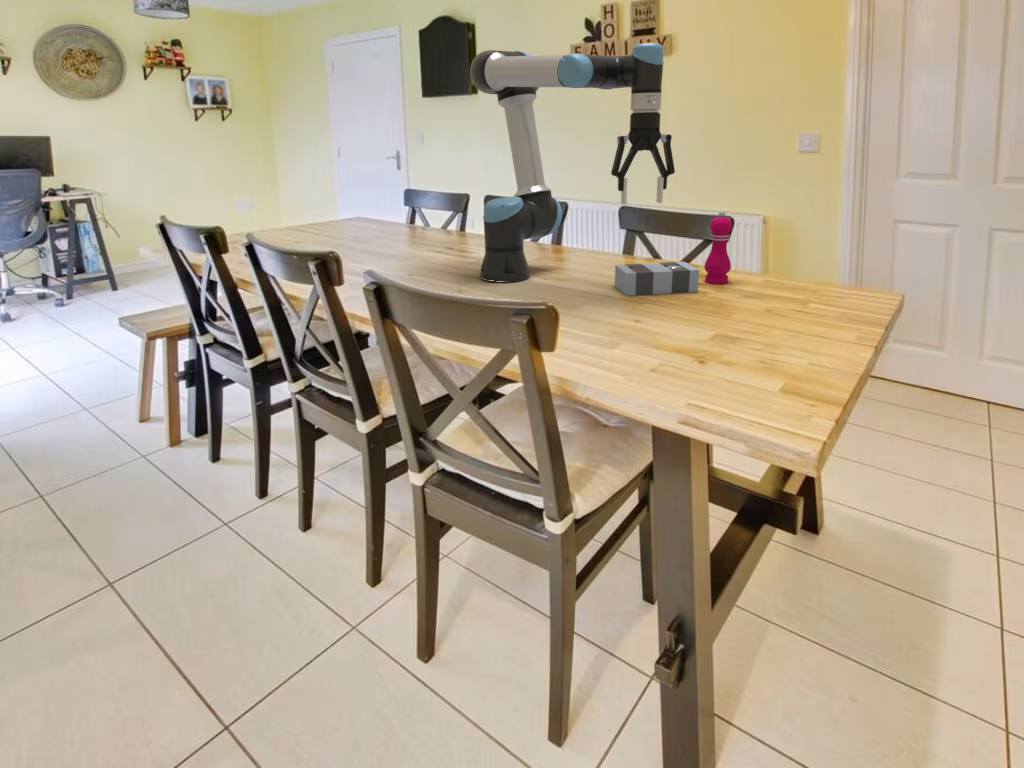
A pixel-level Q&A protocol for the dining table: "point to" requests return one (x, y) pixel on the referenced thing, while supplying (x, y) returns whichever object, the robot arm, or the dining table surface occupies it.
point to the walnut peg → (638, 268)
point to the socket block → (656, 278)
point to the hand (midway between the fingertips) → (641, 203)
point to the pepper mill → (718, 251)
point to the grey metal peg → (673, 266)
